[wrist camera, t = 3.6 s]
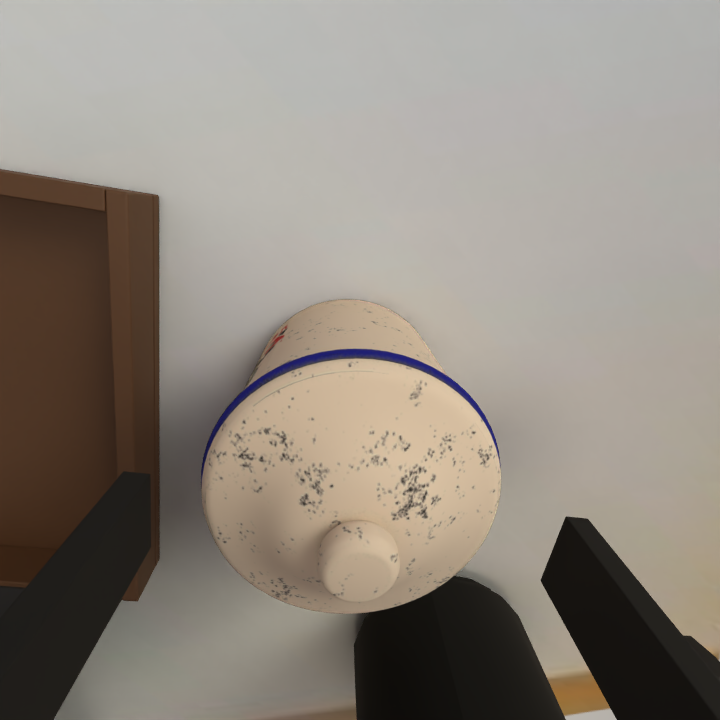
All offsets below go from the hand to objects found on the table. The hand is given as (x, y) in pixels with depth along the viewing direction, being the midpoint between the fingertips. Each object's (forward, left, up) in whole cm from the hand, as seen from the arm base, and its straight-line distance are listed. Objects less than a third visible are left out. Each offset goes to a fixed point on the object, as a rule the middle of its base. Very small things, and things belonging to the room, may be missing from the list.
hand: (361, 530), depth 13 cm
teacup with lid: (0, 0, -9) cm, 9 cm away
